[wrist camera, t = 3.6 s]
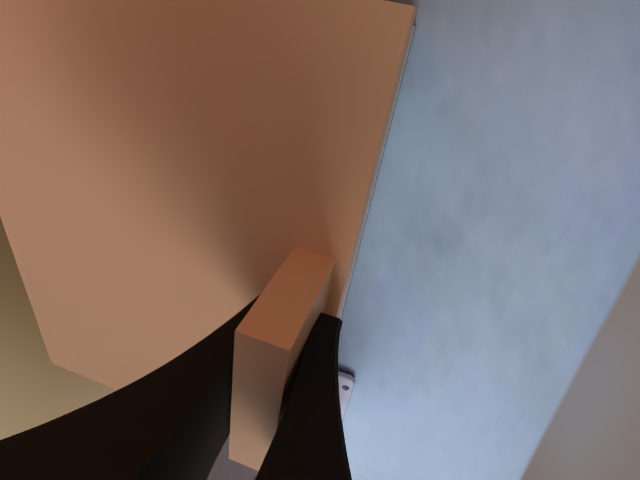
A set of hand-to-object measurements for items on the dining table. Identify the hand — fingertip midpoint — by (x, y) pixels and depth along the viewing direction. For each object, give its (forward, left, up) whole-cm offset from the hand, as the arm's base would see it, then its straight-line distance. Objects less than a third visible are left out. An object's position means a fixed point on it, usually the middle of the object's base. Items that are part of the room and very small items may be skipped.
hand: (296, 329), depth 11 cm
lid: (0, +5, -2) cm, 6 cm away
